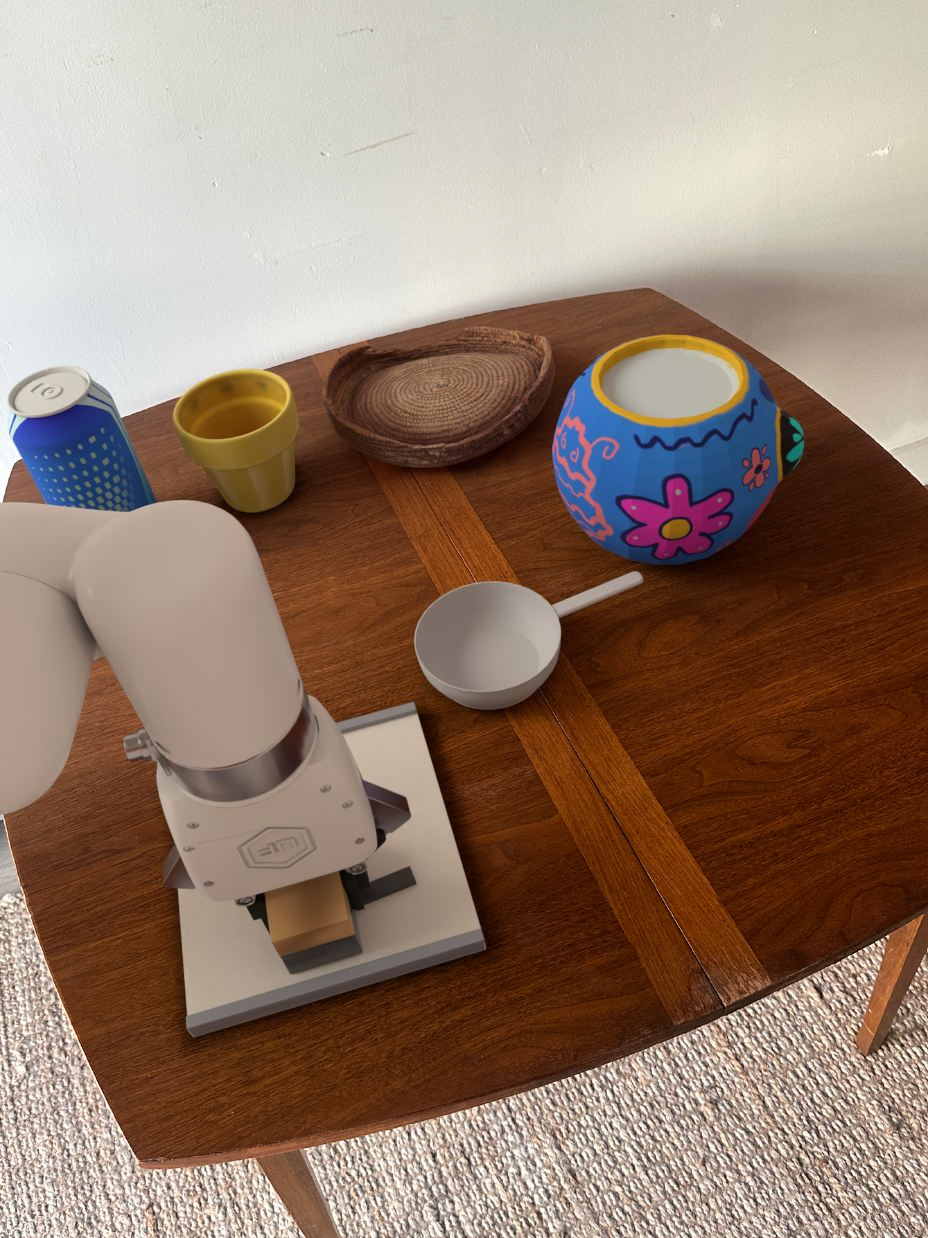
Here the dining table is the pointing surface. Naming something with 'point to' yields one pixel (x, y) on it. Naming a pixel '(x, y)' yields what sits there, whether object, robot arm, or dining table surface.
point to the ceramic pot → (671, 448)
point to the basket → (439, 396)
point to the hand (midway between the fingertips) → (313, 900)
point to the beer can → (76, 442)
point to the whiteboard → (389, 927)
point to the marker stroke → (388, 885)
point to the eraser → (312, 923)
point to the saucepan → (497, 639)
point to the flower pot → (242, 435)
